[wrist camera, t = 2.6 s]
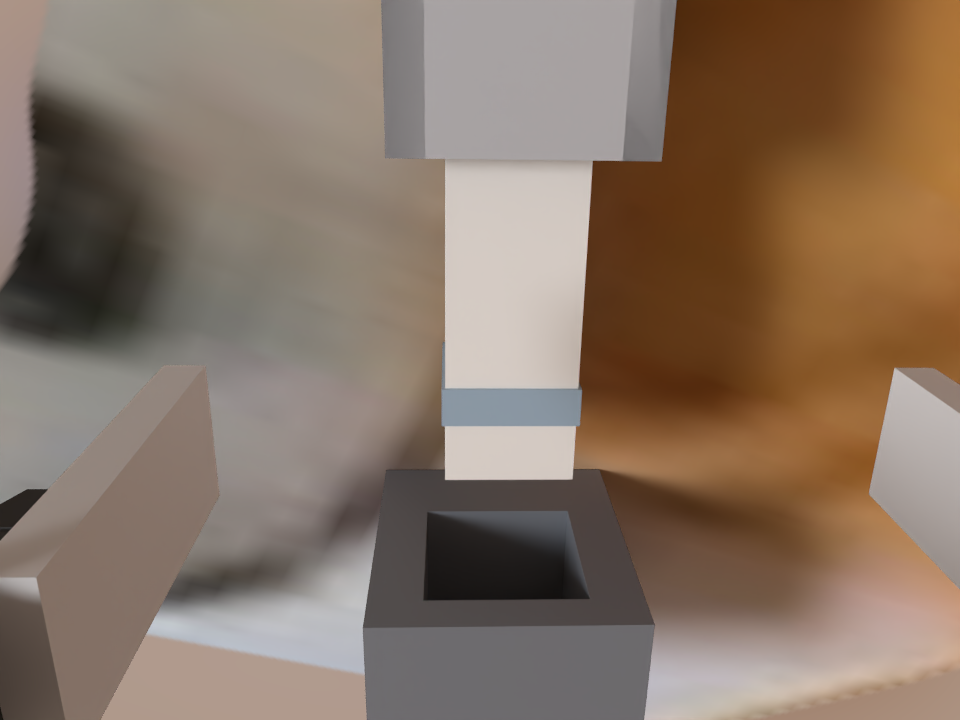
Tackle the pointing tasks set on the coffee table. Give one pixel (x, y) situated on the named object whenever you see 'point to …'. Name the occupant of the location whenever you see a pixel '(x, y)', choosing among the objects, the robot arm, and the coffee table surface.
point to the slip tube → (513, 316)
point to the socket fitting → (503, 603)
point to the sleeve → (526, 79)
